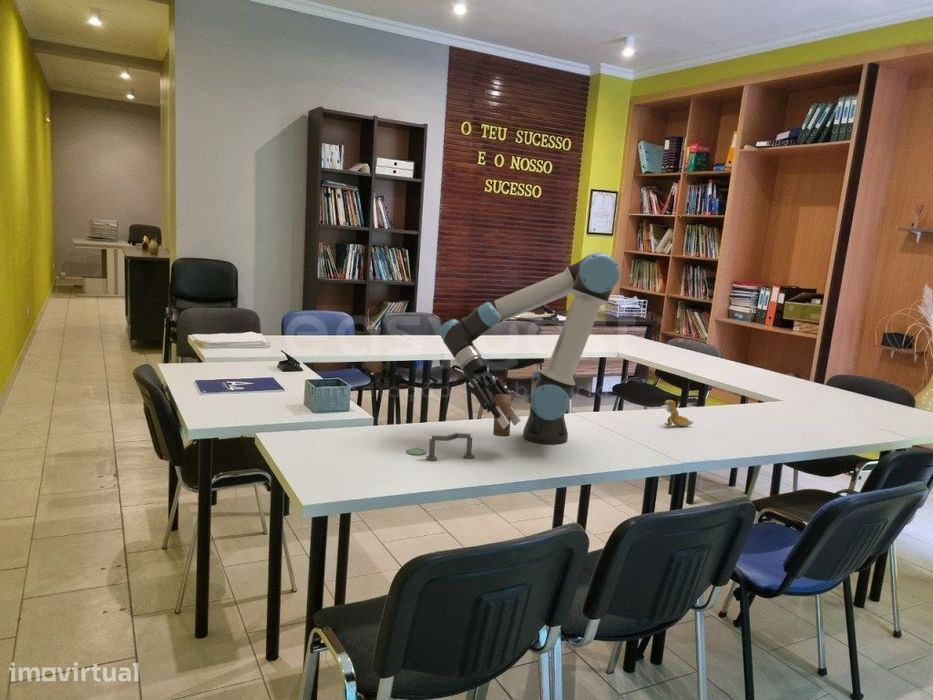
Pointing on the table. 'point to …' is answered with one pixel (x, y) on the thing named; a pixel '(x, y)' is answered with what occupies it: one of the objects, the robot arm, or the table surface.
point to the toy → (675, 416)
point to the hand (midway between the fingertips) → (511, 424)
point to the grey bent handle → (447, 438)
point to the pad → (416, 451)
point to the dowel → (505, 407)
